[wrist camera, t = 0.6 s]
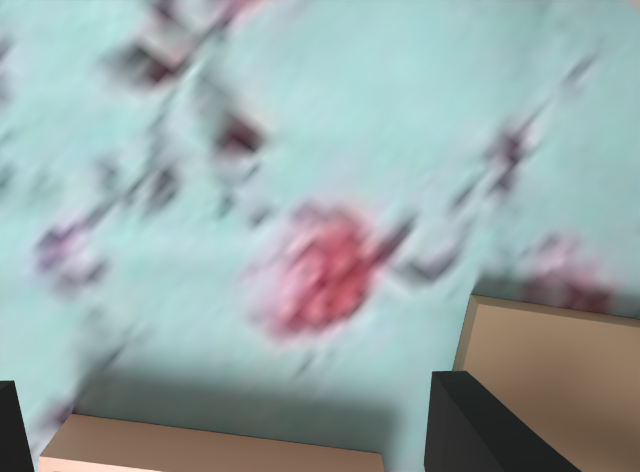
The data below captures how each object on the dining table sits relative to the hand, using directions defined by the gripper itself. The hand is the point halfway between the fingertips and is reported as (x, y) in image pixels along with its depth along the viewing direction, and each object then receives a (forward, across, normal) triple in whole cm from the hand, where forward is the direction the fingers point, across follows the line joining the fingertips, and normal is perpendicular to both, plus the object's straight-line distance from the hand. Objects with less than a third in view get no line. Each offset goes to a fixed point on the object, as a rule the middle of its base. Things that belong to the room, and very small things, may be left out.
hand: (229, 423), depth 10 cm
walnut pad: (+9, -12, +8) cm, 17 cm away
